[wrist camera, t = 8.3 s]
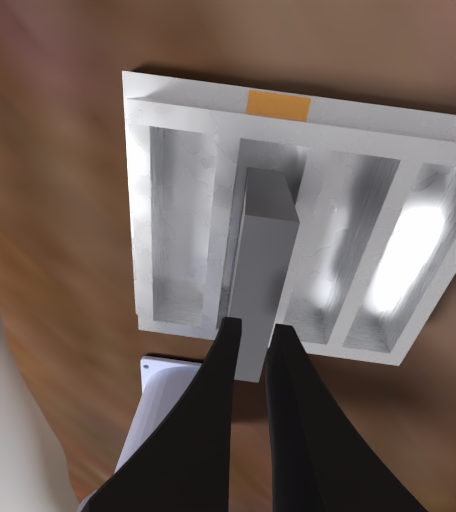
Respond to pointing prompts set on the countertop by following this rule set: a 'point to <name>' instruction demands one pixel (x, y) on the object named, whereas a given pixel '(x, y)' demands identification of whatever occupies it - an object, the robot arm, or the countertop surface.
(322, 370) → the countertop surface
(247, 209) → the panel
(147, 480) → the robot arm
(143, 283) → the rack
